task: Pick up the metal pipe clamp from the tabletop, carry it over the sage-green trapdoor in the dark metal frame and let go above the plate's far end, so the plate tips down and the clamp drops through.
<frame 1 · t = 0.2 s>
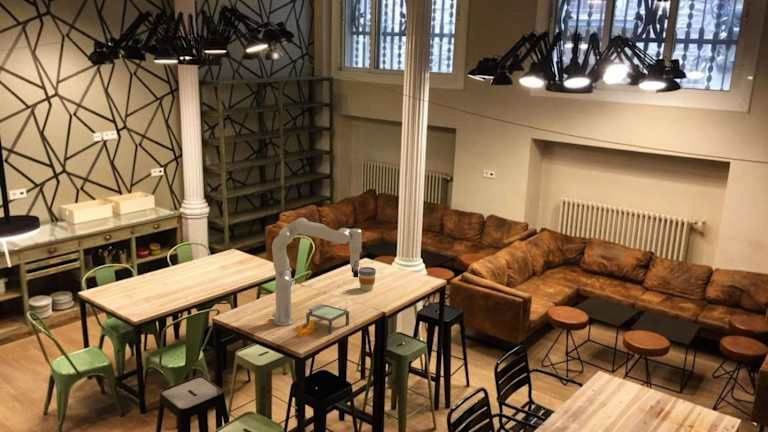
hand: (354, 274, 429), 31 cm above the table, tool pointing down, fingers open, 9 cm apart
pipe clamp: (306, 333, 414), on the table
reusable coffee cup: (366, 289, 496), on the table
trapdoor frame: (327, 325, 427), on the table
trapdoor: (326, 311, 425), point 9 cm above the table, hinge at 0.0°
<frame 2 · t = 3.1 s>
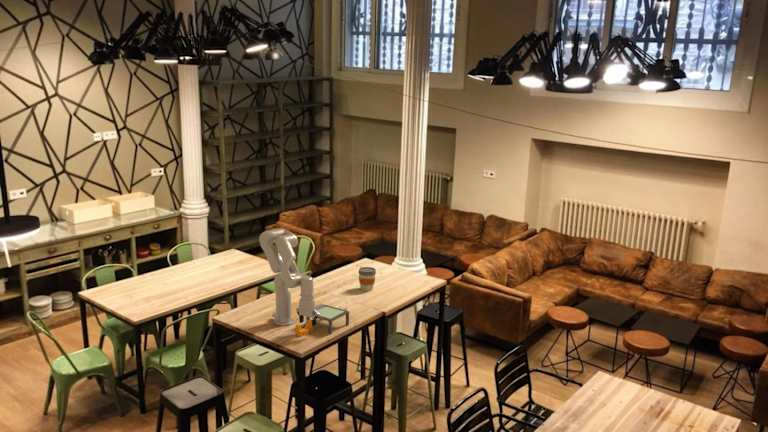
hand: (307, 324, 412), 6 cm above the table, tool pointing down, fingers open, 9 cm apart
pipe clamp: (305, 333, 415), on the table, touching gripper
everything else where it was.
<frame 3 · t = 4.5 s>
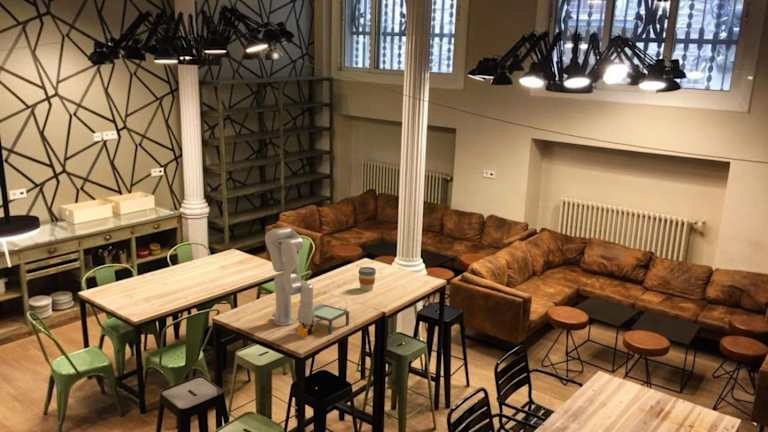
hand: (306, 332, 414), 1 cm above the table, tool pointing down, fingers closed on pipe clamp, 4 cm apart
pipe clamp: (307, 333, 415), on the table, touching gripper
everything else where it was.
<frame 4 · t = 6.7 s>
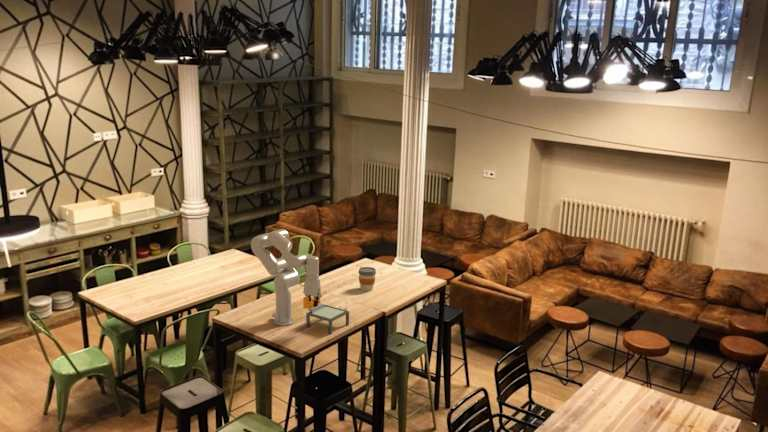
hand: (312, 305, 413), 17 cm above the table, tool pointing down, fingers closed on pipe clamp, 4 cm apart
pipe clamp: (312, 306, 413), point 17 cm above the table, touching gripper
everything else where it was.
when the fingers open (12 cm above the table, at t = 9.1 s): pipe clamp drops 8 cm, resting on trapdoor.
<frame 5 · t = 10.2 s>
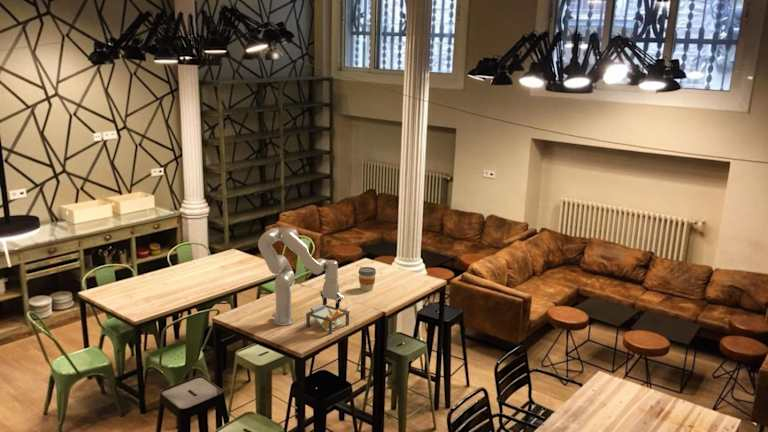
hand: (331, 306, 422), 13 cm above the table, tool pointing down, fingers open, 9 cm apart
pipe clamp: (330, 322, 425), point 3 cm above the table, touching trapdoor
trapdoor: (325, 316, 426), point 6 cm above the table, hinge at -32.0°, touching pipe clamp
everything else where it was.
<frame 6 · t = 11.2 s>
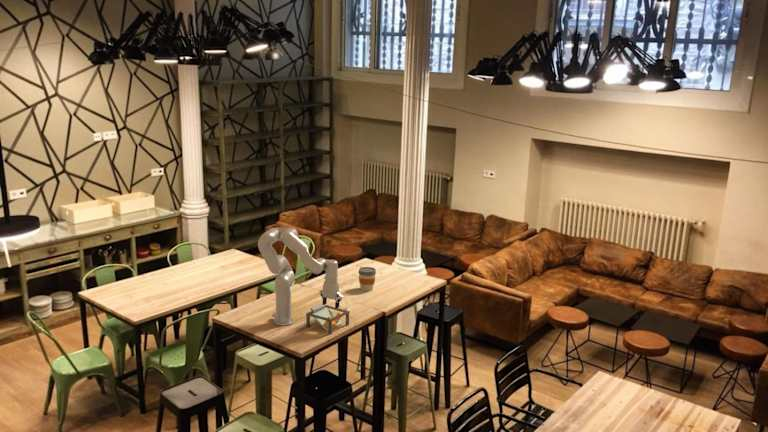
hand: (330, 306, 422), 14 cm above the table, tool pointing down, fingers open, 9 cm apart
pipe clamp: (332, 323, 425), point 2 cm above the table, touching trapdoor
everything else where it was.
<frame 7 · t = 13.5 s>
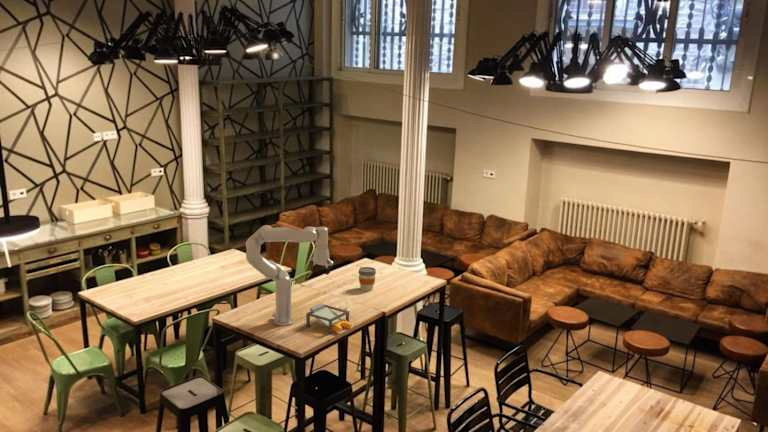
hand: (321, 272, 430), 31 cm above the table, tool pointing down, fingers open, 9 cm apart
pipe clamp: (337, 324, 422), point 3 cm above the table
trapdoor: (326, 314, 426), point 7 cm above the table, hinge at -18.8°
everything else where it was.
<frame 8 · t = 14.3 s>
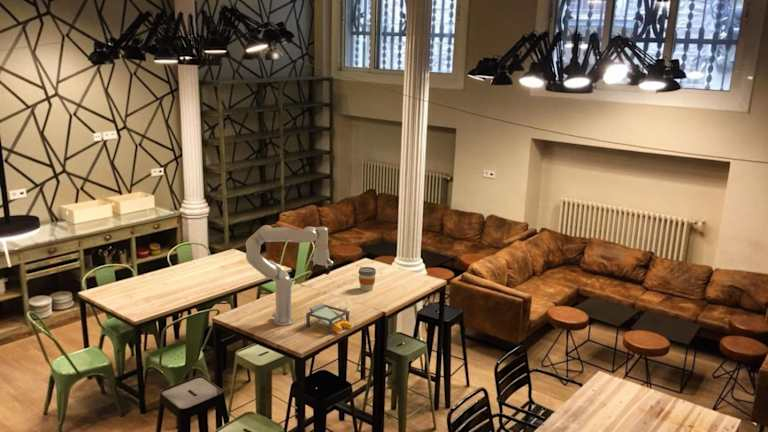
hand: (321, 272, 430), 31 cm above the table, tool pointing down, fingers open, 9 cm apart
trapdoor: (326, 313, 426), point 8 cm above the table, hinge at -15.3°
everything else where it was.
at the end: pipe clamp inside the target area (7.1 cm from its centre), point 2.9 cm above the table; the gripper is holding nothing; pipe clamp moved 20.2 cm from its start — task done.
